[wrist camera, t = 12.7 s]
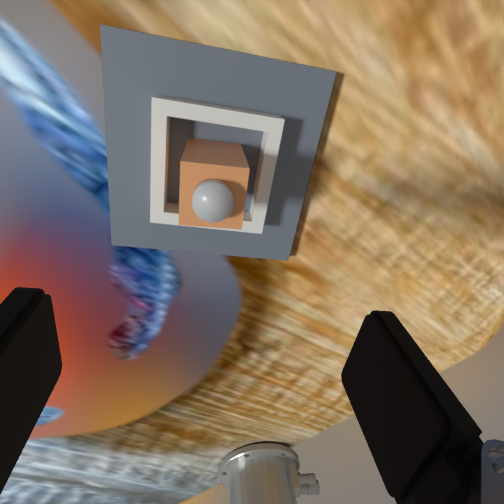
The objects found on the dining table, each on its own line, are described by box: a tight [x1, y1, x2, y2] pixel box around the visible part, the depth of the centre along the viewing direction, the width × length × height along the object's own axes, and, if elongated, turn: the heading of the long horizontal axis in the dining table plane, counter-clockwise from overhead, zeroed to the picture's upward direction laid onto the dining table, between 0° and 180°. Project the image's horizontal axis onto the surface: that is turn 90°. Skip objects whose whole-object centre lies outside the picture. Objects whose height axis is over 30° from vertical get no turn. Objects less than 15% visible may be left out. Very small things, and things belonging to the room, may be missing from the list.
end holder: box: [100, 24, 336, 261], centre depth 25 cm, size 16×16×3 cm
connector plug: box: [179, 137, 250, 230], centre depth 22 cm, size 4×4×8 cm
